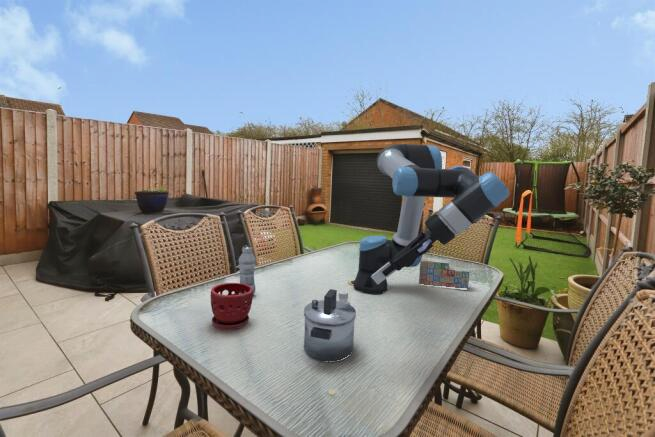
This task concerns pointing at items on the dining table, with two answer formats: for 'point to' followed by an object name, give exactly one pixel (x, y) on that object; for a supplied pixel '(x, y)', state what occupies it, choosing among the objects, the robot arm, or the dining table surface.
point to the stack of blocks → (442, 274)
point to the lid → (329, 311)
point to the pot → (328, 341)
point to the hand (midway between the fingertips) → (374, 279)
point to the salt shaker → (343, 297)
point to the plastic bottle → (247, 267)
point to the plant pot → (231, 305)
